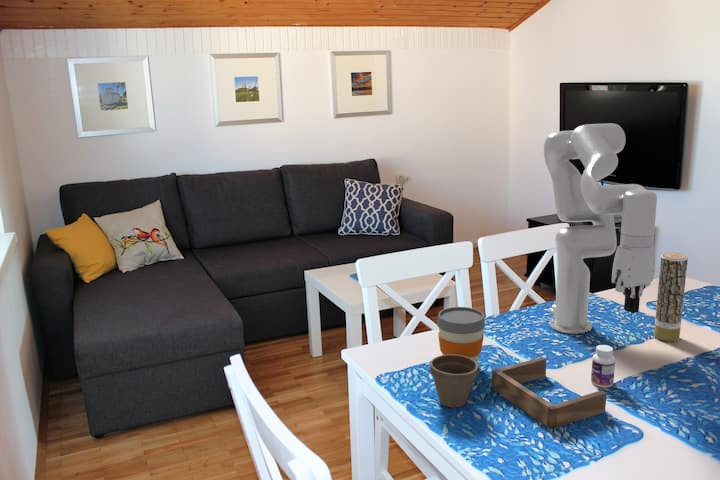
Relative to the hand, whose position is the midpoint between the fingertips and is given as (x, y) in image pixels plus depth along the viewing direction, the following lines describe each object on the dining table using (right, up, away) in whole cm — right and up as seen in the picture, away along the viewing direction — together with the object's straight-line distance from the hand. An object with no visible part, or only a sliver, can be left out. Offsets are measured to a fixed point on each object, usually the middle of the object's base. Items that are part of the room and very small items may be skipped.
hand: (631, 311), depth 166 cm
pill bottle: (-7, -19, +2) cm, 20 cm away
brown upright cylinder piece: (+22, -11, +27) cm, 36 cm away
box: (-23, -21, -6) cm, 32 cm away
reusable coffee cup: (-41, -17, +13) cm, 46 cm away
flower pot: (-45, -22, -5) cm, 50 cm away
